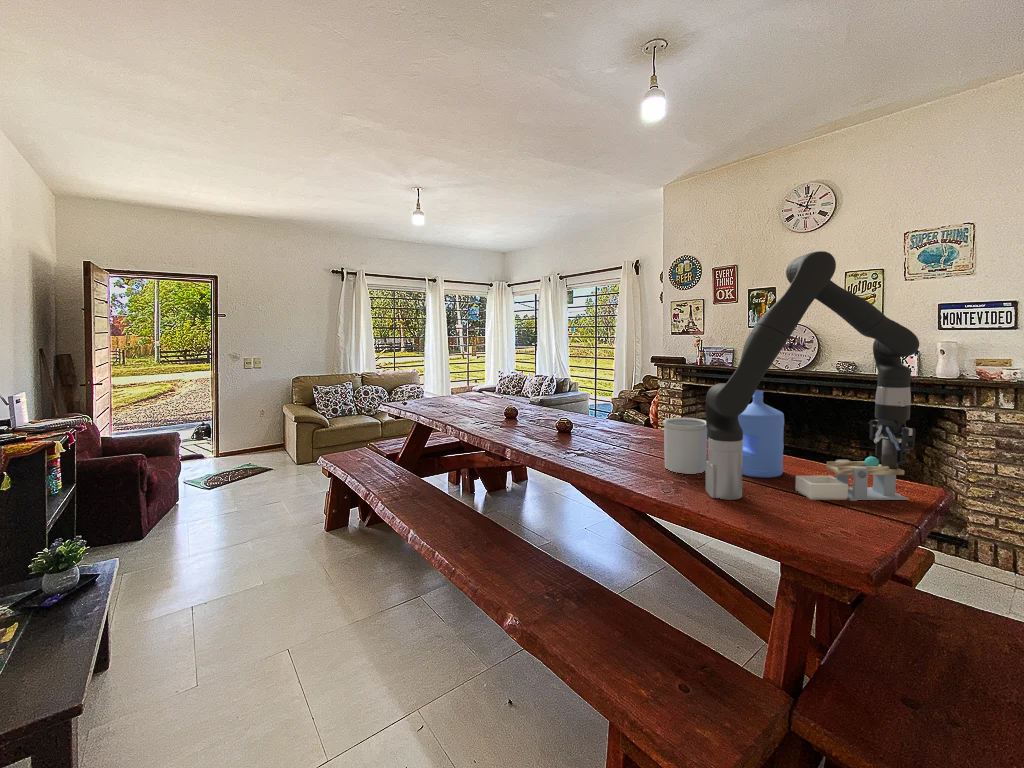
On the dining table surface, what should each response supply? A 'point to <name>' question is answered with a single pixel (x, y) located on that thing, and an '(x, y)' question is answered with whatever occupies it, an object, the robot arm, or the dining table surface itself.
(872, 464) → the ball
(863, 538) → the dining table surface
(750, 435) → the water jug
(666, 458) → the utensil holder
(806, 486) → the gray open tray
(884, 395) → the robot arm
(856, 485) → the stand
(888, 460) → the lever
